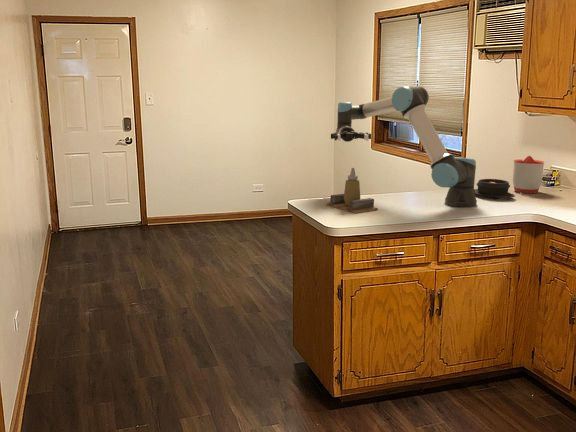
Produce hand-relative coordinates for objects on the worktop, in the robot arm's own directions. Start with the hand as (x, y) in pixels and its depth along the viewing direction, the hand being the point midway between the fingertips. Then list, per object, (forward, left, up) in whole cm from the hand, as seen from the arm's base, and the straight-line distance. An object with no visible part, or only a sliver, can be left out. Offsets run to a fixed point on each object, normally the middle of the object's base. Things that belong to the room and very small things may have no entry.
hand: (353, 137), depth 305 cm
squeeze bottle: (-9, +7, -31) cm, 33 cm away
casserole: (-26, -74, -32) cm, 85 cm away
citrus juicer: (-26, -102, -32) cm, 110 cm away
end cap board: (-9, +7, -32) cm, 34 cm away
